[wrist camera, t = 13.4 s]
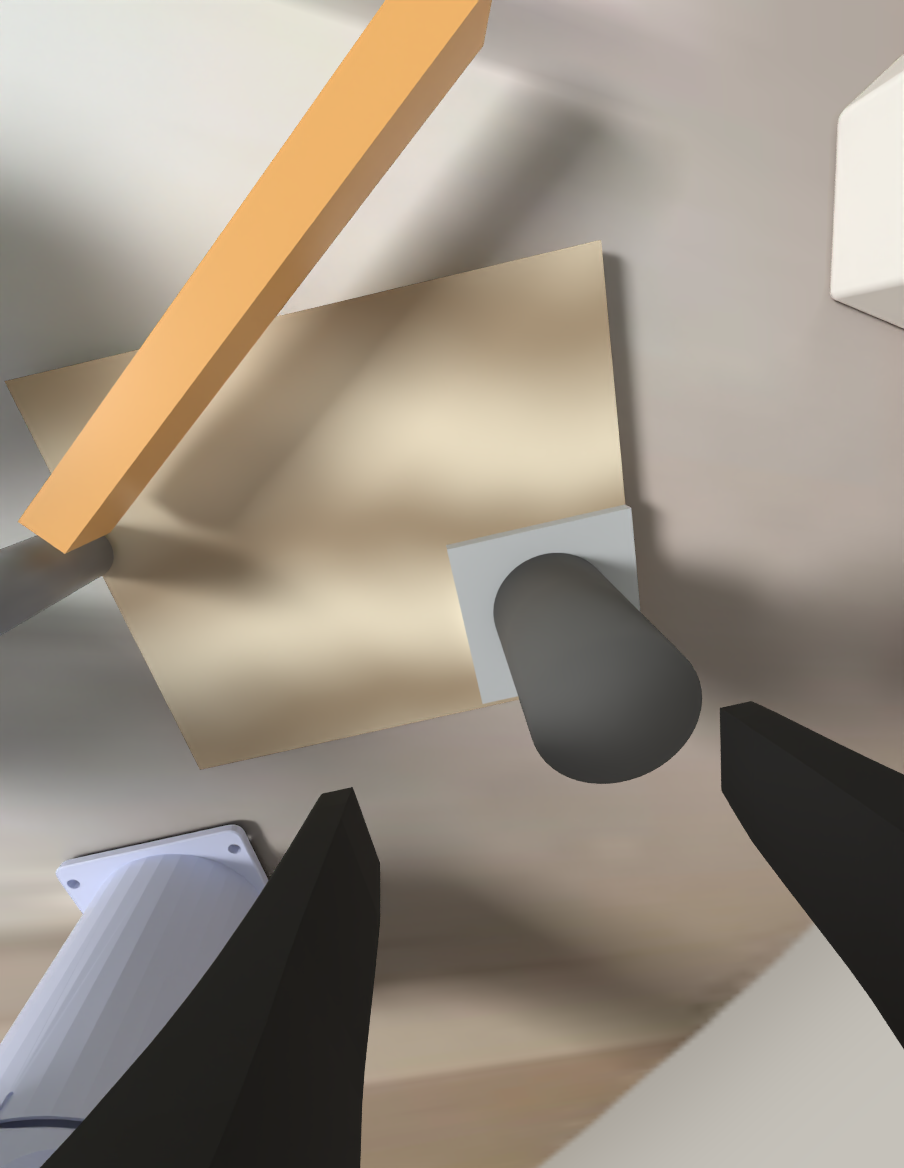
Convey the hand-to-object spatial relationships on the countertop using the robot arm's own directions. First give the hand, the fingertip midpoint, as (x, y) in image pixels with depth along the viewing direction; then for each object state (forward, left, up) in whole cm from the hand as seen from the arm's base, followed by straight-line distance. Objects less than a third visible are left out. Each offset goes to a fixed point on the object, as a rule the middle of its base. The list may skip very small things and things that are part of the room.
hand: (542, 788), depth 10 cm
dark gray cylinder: (0, -2, -8) cm, 8 cm away
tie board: (+3, +3, -9) cm, 10 cm away
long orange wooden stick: (+10, +5, -8) cm, 14 cm away
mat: (0, -2, -8) cm, 9 cm away
